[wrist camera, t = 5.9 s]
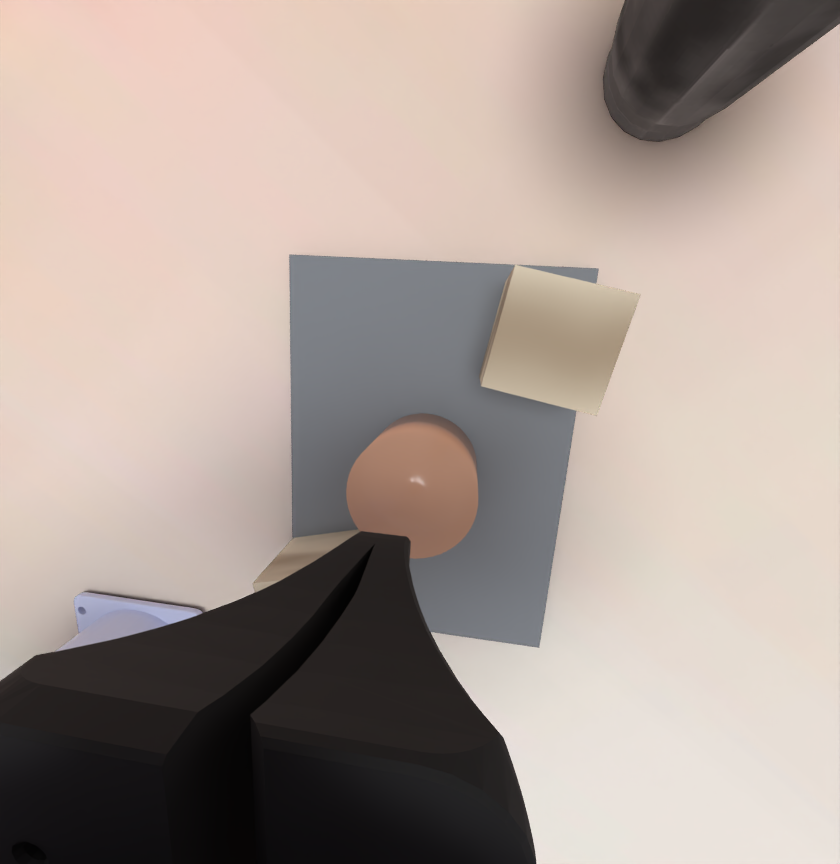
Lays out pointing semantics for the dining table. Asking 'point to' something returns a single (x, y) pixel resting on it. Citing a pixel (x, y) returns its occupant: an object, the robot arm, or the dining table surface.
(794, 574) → the dining table surface
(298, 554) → the birch cube
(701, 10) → the beverage cup
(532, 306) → the birch cube
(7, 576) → the dining table surface
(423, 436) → the tan rounded piece
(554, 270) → the slate mat
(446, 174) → the dining table surface
